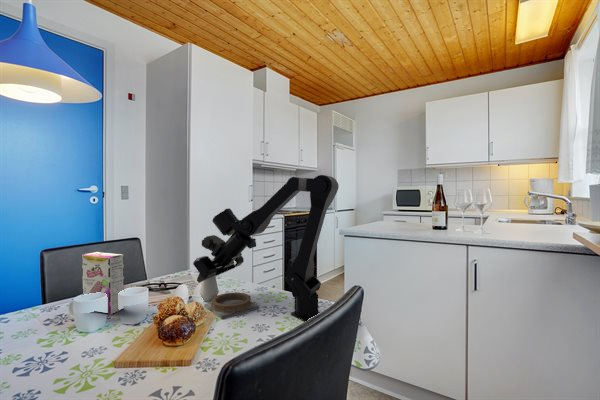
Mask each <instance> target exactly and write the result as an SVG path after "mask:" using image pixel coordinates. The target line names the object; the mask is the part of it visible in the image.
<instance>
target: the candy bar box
mask: <svg viewBox="0 0 600 400" xmlns="http://www.w3.org/2000/svg"><path fill="white" fill-rule="evenodd" d="M124 255H125V254H121V253H111V252H101V251H93V252H89V253H84V254H82V255H81V274H82V276H81V278H82V296H83V295H84V294H89V293H96V292H101V293H106V294H107V297H108V314H107V315H109V316H111V315H114V314H116V313H118V311H119V309H118V293H119V292H120V291H122V290H124V291H125V264H124V263H125V262H124V261H125V260H124V259H125V258H124ZM115 312H116V313H115ZM119 312H120V311H119ZM113 313H114V314H113Z"/></svg>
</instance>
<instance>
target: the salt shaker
mask: <svg viewBox="0 0 600 400" xmlns="http://www.w3.org/2000/svg"><path fill="white" fill-rule="evenodd" d="M209 258H210V257H209ZM210 260H211V261H214V258H210ZM200 295H201V296H200ZM217 295H219V286H218V282H217V276H213V277H211V278H208V279H206V280H204V281H202V282H200V287H199V296H200V297H202V298H203V300H204V301H203V300H202V301H203V302H206V303H211V300H212V298H214V297H216V296H217ZM202 298H201V299H202Z"/></svg>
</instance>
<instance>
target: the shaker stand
mask: <svg viewBox="0 0 600 400" xmlns="http://www.w3.org/2000/svg"><path fill="white" fill-rule="evenodd" d="M251 297H252V296H251V295H249V294H247V293H244V292H225V293H221V294H218V295H217V296H216V297H214V298H212V300H211V301H210V302H206V303H205V304H203V307H204V309H206V310H207V311H209V312H211V313H212V312H213V313H212V314H214V313H215V314H216V315H215V314H214V315H215V316H217V317H218V318H220V319H221V320H224V319H228V318H230V317H234V316H237V315H241V314H245V313H247V312H251V311H254V310H258V309H260V305H259V304H257V303H254V302H253V301H252V298H251Z"/></svg>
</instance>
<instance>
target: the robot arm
mask: <svg viewBox="0 0 600 400" xmlns="http://www.w3.org/2000/svg"><path fill="white" fill-rule="evenodd" d="M338 190H339V182H338V181H337V179H336V178H335V177H333V176H332V175H331V176H330V175H325V174H320V175H317V176H315V177H314V178H311V177H309V178H308V177H299V176H298V177H297V176H291V177H289V178H288V180H287V181H286V182H285V184H283V186H282V187H280V188H279V189H278V190H277V191H276V192H275V193H274V194H273V195H272V196H271V197H270V198H269V199H268V200H266V202H265V203H264V204H263V205H262V206H260V208H258V209H255V210H254V211H252V212H250V213H248V214H247V215H245V216H244V217H243V218H241V219H239V218H238V217H237V216H236V215H235V214H234V212H233V211H232V209H231V208H224V210H223V211H221V212H219V213H218V214H217V215H214V217H213V218H212V220H211V221H212V223H213V224H214V226H215V227H216V228H217V229H218V231H219V232H220V233H221V235H223V236H228V237H229V238H228V239H227V240H226V241H225V240H224V239H222V238H220V237H219V236H217V235H215V234H214V235H213V234H212V235H209V236H208V235H207V236H205V237H204V238H203V239H201V247H203V248H205V250H209V251H211V253H210V255H211V256H212V257H214V258H213V259H214V261H211V260H210V256H207V255H204V256H200V257H197V258H195V260H194V261H193V262H192V265H193V266H194V267H195V268H196V270H197V271H198V275H197V278H196V279H197V280H196V281H197V282H198V283H200V284H201V282H202V281H204V280H206V279H208V278H211V277H213V276H216V277H217V276H219V275H221V274H224V273H227V272H229V271H231V270H233V269H235V268H237V267H240V266H242V264H243V263H245V262H244V257H243V253H242V252H243V251H244V250H245V249H246V248H248V249H253V248H255V247H257V242H256V241H257V239H256V238H254V237H252V236H256V235H259V234H262V233H264V232H265V231H266V229H267V228H268V226H269V225H270V223H271V221H272V219H273V217H275V216H276V215H277V214H278V212H280V211H281V210H282V209H283V208H284V207H285V206H286V205H287V204H288V203H290V202H291V200H292V199H294V197H296V196H297V195H299V193H300V192H309V198H310V199H309V200H310V209H309V213H308V216H307V220H306V224H305V227H304V230H303V234H302V238H301V241H300V246H299V249H298V252H297V255H296V256H295V257H293V258H291V259H289V260H288V261H287V265H286V271H285V272H284V275H286V276H285V282H286V283H287V286H288V287H289V289H290V292H291V295H292V297H293V299H294V311H292V312H291V311H290V316H293V317H295V318H297V319H299V320H301V321H304V322H307V321H306V320H308V319H309V318H311V317H313V316H315V315H317V314H318V313H321V312H320V311H319V294H318V292H317V291H319V290H320V288H321V286H322V282H321V281H320V280H319V278H317V277H316V275H314V274H315V273H314V272H315V260H314V256H315V254H316V249H317V245H318V243H319V239H320V236H321V232H322V228H323V225H324V222H325V217H326V214H327V210H328V209H329V207H330V206H331V204H332V202H333V201H334V200H335V197H336V195H337V194H338Z"/></svg>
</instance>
